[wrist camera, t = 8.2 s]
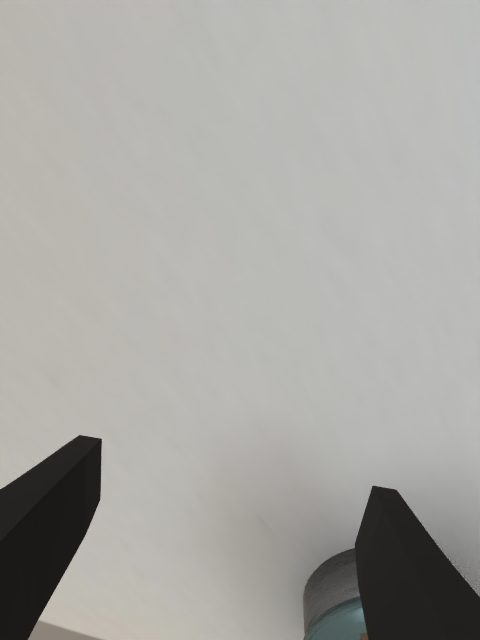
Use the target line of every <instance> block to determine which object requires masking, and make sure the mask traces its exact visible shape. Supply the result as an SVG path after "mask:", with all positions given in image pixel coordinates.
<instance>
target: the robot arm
mask: <svg viewBox="0 0 480 640" xmlns="http://www.w3.org/2000/svg"><path fill="white" fill-rule="evenodd" d="M101 446H102V439H99V438H93V437H88V436H82V435H79V436H77V437H76V438H75V439H73V440H72V441H70V442H69V443H67V444H66V445H64V446H63V447H62V448H60V449H59V450H57V451H56V452H55V453H53V454H52V455H50V456H49V457H48V458H46V459H45V460H43V461H42V462H41V463H39V464H38V465H36V466H35V467H33V468H32V469H30V470H29V471H27V472H26V473H25V474H23V475H22V476H20V477H19V478H17V479H16V480H14V481H13V482H11V483H10V484H8V485H7V486H5V487H4V488H2V489H0V640H28V638H29V636H30V634H31V632H32V630H33V628H34V626H35V625H36V623H37V621H38V619H39V617H40V615H41V614H42V612H43V610H44V608H45V606H46V605H47V603H48V601H49V599H50V598H51V596H52V594H53V592H54V590H55V589H56V587H57V585H58V583H59V582H60V580H61V578H62V576H63V575H64V573H65V571H66V569H67V567H68V566H69V564H70V562H71V560H72V558H73V557H74V555H75V553H76V551H77V549H78V548H79V546H80V544H81V542H82V540H83V539H84V537H85V535H86V532H87V530H88V528H89V525H90V523H91V521H92V518H93V516H94V513H95V511H96V508H97V506H98V504H99V501H100V491H101ZM355 554H356V568H357V580H358V588H359V594H360V599H361V604H362V609H363V615H364V620H365V625H366V630H367V635H368V640H480V597H479V596H478V595H477V593H476V592H475V591H474V590H473V589H472V588H471V586H470V585H469V584H468V583H467V582H466V581H465V579H464V578H463V577H462V576H461V575H460V573H459V572H458V571H457V570H456V569H455V567H454V566H453V565H452V564H451V562H450V561H449V560H448V559H447V557H446V556H445V555H444V553H443V552H442V551H441V550H440V548H439V547H438V546H437V544H436V543H435V542H434V540H433V539H432V538H431V536H430V535H429V534H428V532H427V531H426V530H425V528H424V527H423V526H422V524H421V523H420V522H419V520H418V519H417V517H416V516H415V515H414V513H413V512H412V511H411V509H410V508H409V506H408V505H407V504H406V502H405V501H404V499H403V498H402V497H401V495H400V494H399V493H398V491H397V490H394V489H389V488H383V487H377V486H372V490H371V493H370V496H369V499H368V503H367V506H366V509H365V513H364V516H363V519H362V523H361V526H360V529H359V532H358V536H357V539H356V542H355Z"/></svg>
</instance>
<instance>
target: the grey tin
mask: <svg viewBox="0 0 480 640" xmlns="http://www.w3.org/2000/svg"><path fill="white" fill-rule="evenodd" d="M303 607H304V634H305V636H304V639H303V640H360V637H361V633H367V630H366V625H365V620H364V615H363V609H362V604H361V599H360V594H359V588H358V580H357V568H356V554H355V548H354V549H350V550H347V551H344V552H341V553H339V554H337V555H335V556H333V557H331V558H330V559H328V560H327V561H325V562H324V563H323V564H321V565H320V566H319V567H318V568H317V569H316V570H315V571H314V572H313V574H312V575H311V577H310V578H309V580H308V582H307V584H306V586H305V590H304V596H303Z"/></svg>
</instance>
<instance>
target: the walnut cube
mask: <svg viewBox="0 0 480 640" xmlns="http://www.w3.org/2000/svg"><path fill="white" fill-rule="evenodd" d="M360 640H368V635H367V633H361V637H360Z"/></svg>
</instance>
